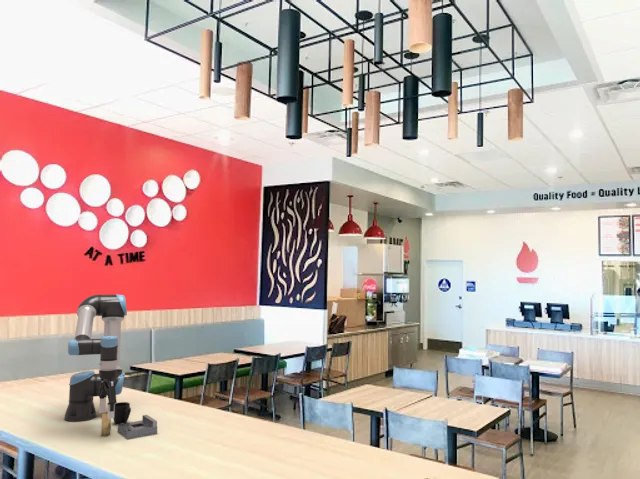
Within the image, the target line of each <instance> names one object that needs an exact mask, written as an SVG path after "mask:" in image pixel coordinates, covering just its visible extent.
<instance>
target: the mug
mask: <svg viewBox="0 0 640 479" xmlns="http://www.w3.org/2000/svg"><path fill="white" fill-rule="evenodd" d="M130 404H131V403H130V402H125V401H122V402H117V403H115V409H114V418H112V420H113V423H114V425H117V426H118V424H120V423H128V421H129V417H130V415H131V411H132V410H131V409H132V408H131V407H130V406H131V405H130Z"/></svg>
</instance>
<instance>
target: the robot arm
mask: <svg viewBox="0 0 640 479" xmlns="http://www.w3.org/2000/svg"><path fill="white" fill-rule="evenodd" d="M126 301H127V300H126V296H125V295H123V294H93V295H90V296H88V297H86V298H85V299H83V301H81V303H80V304H79V305H78V307H77V309H76V316H77V321H76V327H75V333H74V338H73V339H69V341H68V343H67V353H68V355H69V356H86V355H100V359H99V363H98V365H99V370H98V373H95V371H94V370H85V371H81V372H76V373H74V374H72V375H71V376H70V378H69V384H68V385H69V392H68V393H69V394H68V404H67V407H66V411H65V412H64V413H65V414H64V418H63V419H64V421H66V422H84V421H90V420H92V419H96V417H97V410H96V406H95V403H94V398H95V397H98V398H99V406H98V408H99V410H98V411H99V412H98V414H102V413H106V409H107V412H108V419H111V420H113V418H114V409H115V403H118V402H117V396H118V395H121V394H122V392H123V386H124V380H125V375H126V374H125V373H126V372H124V371H123V368H122V367H121V366H120V364H121V363H120V358H121V334H122V333H121V332H122V321H124V319H125V317H126V316H127V315H128V310H127V302H126ZM95 317H101V320H102V321H103V326H104V327H103V336H102V337H101V338H92V335H93V326H94V318H95ZM107 399H108V402H107ZM106 407H107V408H106Z"/></svg>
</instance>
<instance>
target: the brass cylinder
mask: <svg viewBox="0 0 640 479" xmlns="http://www.w3.org/2000/svg"><path fill="white" fill-rule="evenodd" d="M111 425H112V419H108V411H107V412H104V413H101V427H100V428H101V432H100V436H101V437H102V438H103V437H104V438H105V437H110V436H111V427H112V426H111Z"/></svg>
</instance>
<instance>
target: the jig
mask: <svg viewBox="0 0 640 479" xmlns="http://www.w3.org/2000/svg"><path fill="white" fill-rule="evenodd" d="M117 433H118V434H119V435H121V436H122V437H123V438H124V439H126V440H131V439H136V438H137V437H138V438H143V437H147V436H153V435H158V420H156V419H155V418H153V417H151V416H150V415H148V414H142V419H141V420H137V421H131V422H126V423H120V424H118V425H117Z"/></svg>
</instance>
